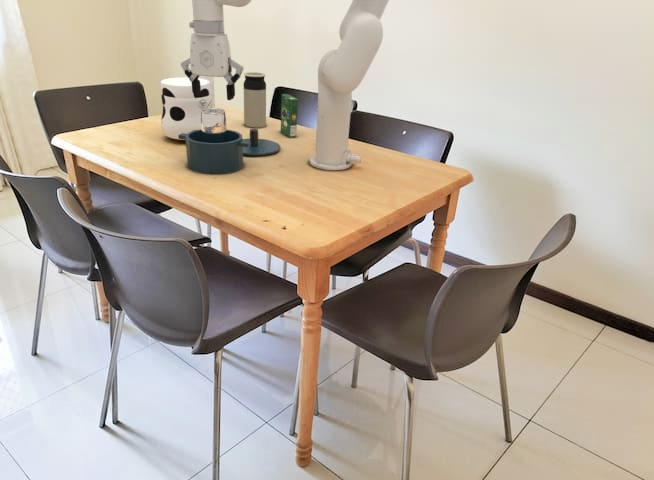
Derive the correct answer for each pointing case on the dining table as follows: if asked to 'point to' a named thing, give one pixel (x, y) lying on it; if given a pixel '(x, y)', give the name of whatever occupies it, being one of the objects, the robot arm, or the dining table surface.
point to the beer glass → (213, 125)
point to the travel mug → (254, 100)
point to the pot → (214, 153)
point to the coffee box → (289, 115)
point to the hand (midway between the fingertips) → (213, 97)
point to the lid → (259, 145)
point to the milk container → (182, 106)
